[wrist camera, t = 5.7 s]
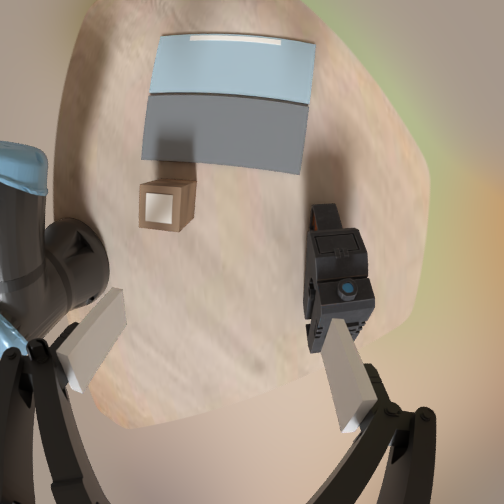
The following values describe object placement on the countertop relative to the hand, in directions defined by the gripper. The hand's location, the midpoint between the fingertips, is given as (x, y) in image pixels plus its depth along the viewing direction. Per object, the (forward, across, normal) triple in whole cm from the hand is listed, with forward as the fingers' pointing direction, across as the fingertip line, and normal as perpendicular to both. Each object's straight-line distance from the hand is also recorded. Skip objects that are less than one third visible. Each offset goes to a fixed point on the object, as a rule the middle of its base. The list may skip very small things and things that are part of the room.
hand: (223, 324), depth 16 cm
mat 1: (+22, -4, +22) cm, 31 cm away
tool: (+22, +12, -5) cm, 25 cm away
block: (+22, -9, +3) cm, 24 cm away
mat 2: (+22, -4, +12) cm, 25 cm away
